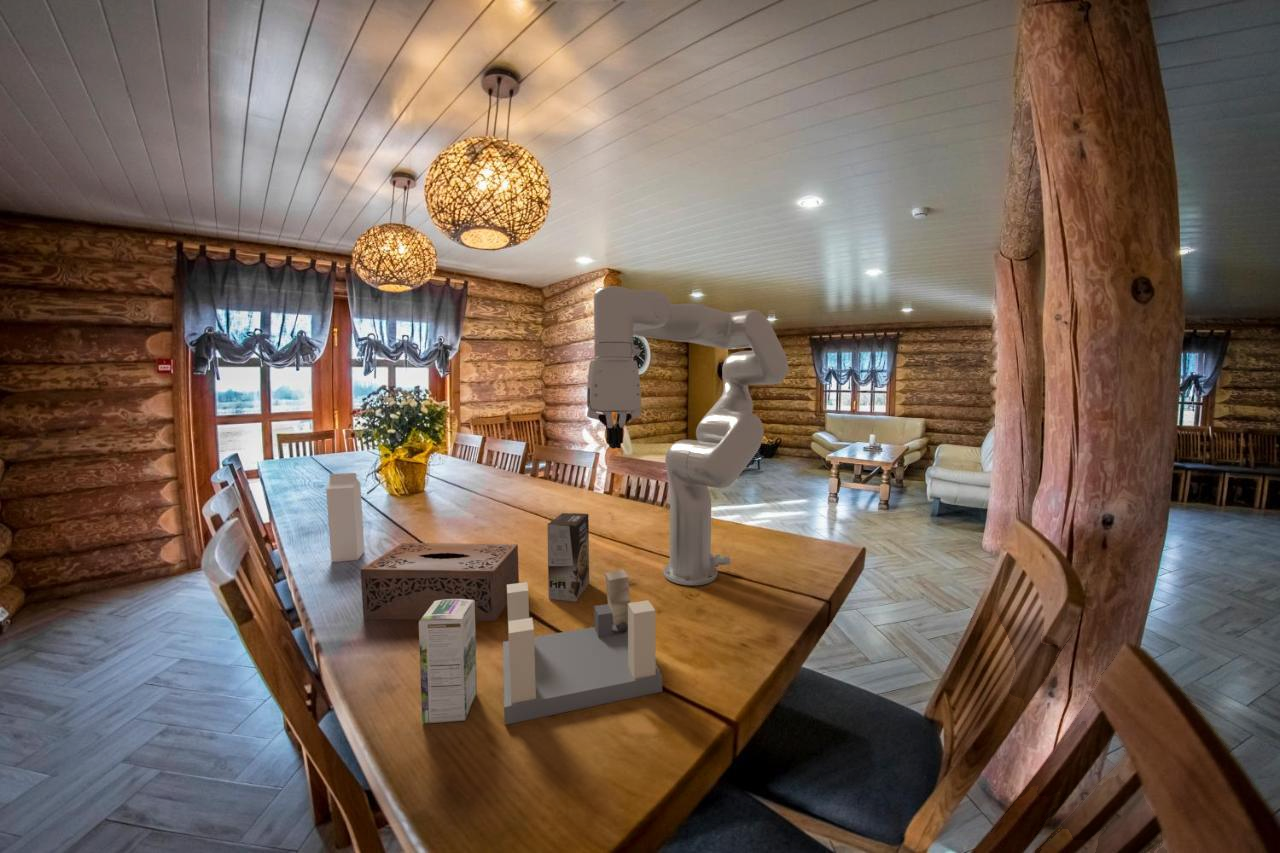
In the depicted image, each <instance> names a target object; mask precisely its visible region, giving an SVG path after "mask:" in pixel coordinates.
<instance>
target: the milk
mask: <svg viewBox="0 0 1280 853" xmlns="http://www.w3.org/2000/svg"><path fill="white" fill-rule="evenodd" d="M325 490H326V491H325V493H326V504H327V506H326V507H327V517H328V518H327V520H328V531H329V535H328V536H329V545H330V546H329V547H330V560H331V563H338V562H348V561H349V562H350V561H358V560H359V559H360V558H361V557H362V556H363V554H364V553H365V552H366V550H365V537H364V536H365V534H364V523H363V522H364V520H363V506H362V492H361V491H362V490H361V482H360V481H359V479H358V478H357V473H355V472H348V473H346V472H345V473H331V474H329V480H328V484H327V486H326V488H325Z"/></svg>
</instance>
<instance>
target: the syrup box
mask: <svg viewBox="0 0 1280 853" xmlns="http://www.w3.org/2000/svg"><path fill="white" fill-rule="evenodd" d="M418 637H419V638H418V639H419V640H418V643H419V669H420V670H419V671H420V700H421V722H422V723H423V724H434V723H435V724H437V723H451V722H460V721H461V722H462V721H463V722H464V721H466V720H467V719H468V718H467V717H468V715H469V713H470V710H471V707H472V704H473V702H474V700H475V697H476V695H477V694H478V692H477V690H478V689H477V688H478V686H477V684H478V683H477V648H476V646H477V645H476V643H477V641H476V639H477V638H476V620H475V601H474V600H468V599H445V600H437V601H434V603H433V604H432V605H431V607H430V608H429V609H428V610H427V612H426V613H425V614H424V616H423V617H422V618H421V619H419V621H418Z"/></svg>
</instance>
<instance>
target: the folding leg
mask: <svg viewBox="0 0 1280 853" xmlns="http://www.w3.org/2000/svg"><path fill="white" fill-rule="evenodd" d="M604 574H605V575H604V576H605V586H606V597H607V604H608V605H609V607H610V609H611V611H612V624H613V626H615V625H616V626H617V629H618V631H619V632H621V633H624V632H626V631H627V630H628V624H627V623H628V603H631V598H630V585H629V576H628V575H627V573H626V571H625V570H624V569H619V570H612V571H608V572H605V573H604Z"/></svg>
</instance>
